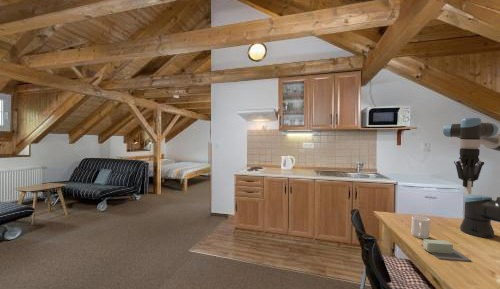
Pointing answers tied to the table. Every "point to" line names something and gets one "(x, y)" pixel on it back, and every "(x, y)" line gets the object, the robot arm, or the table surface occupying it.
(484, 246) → the table surface
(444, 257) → the mat
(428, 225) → the mug
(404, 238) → the table surface
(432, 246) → the block
